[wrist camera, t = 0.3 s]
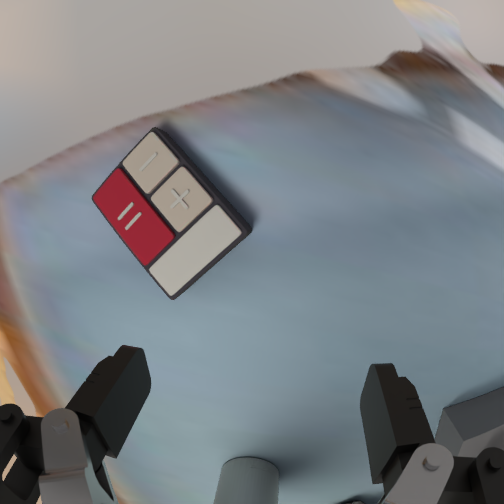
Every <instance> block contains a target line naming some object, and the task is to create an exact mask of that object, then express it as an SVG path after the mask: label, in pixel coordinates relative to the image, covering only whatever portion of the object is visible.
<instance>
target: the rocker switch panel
mask: <svg viewBox="0 0 504 504" xmlns="http://www.w3.org/2000/svg"><path fill="white" fill-rule="evenodd" d="M434 440H435V443H436V444H440V445H442V446H444V447H446V448H447V449H448V450H449V451H450V452H451V454H452V456H458V457H474V458H476V457H477V456H478V455H479V454H480V452H481V451H483V450H484V449H486V448H489V447H497V448H500V449H502V450H503V451H504V387H502V388H500V389H497V390H495V391H492V392H490V393H487V394H485V395H482V396H479V397H476V398H474V399H471V400H468V401H465V402H462V403H459V404H456V405H453V406H450V407H447V408H443V411H442V415H441V419H440V422H439V426H438V429H437V433H436V436H435V439H434Z"/></svg>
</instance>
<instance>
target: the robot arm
mask: <svg viewBox="0 0 504 504" xmlns="http://www.w3.org/2000/svg"><path fill="white" fill-rule="evenodd" d="M150 389H151V377H150V373H149V369H148V365H147V361H146V357H145V353H144V350H143V349H142V348H138V347H132V346H127V345H122V346H121V347H120V348H119V349H118V351H117V352H116V353H115V355H114V356H108V357H106V358H105V359H103V360H102V361H100V362H99V363H98V364H97V365H96V367H95V368H94V369H93V371H92V372H91V374H90V375H89V376H88V377H87V379H86V382H85V381H84V383H83V384H82V385H81V387H80V388H79V389H78V391H77V392H76V394H75V395H74V396H73V398H72V399H71V400H70V402H69V403H68V405H67V406H66V407H65V408H59V409H55V410H52V411H50V412H49V413H47V414H46V415H45V416H44V417H33V416H25V415H24V413H23V411H22V410H21V408H20V407H19V406H17V405H15V404H4V405H2V406H0V504H36V502H37V500H38V498H39V496H40V494H41V500H42V504H119V503H118V501H117V498H116V495H115V493H114V490H113V487H112V484H111V481H110V478H109V475H108V471H107V468H106V465H105V463H104V461H103V459H104V457H105V455H107V456H110V457H113V458H117V456H118V454H119V452H120V450H121V448H122V446H123V444H124V442H125V440H126V438H127V436H128V434H129V432H130V430H131V428H132V426H133V424H134V422H135V420H136V419H137V417H138V415H139V413H140V411H141V409H142V407H143V405H144V403H145V401H146V399H147V397H148V395H149V393H150ZM360 410H361V416H362V421H363V427H364V433H365V438H366V444H367V451H368V457H369V463H370V470H371V477H372V484H379V483H383V486H384V494H383V496H382V497H381V499H380V500H379V502H378V503H377V504H504V451H503V450H502V449H500V448H497V447H489V448H486V449H484V450H483V451H481V452H480V454H479V455H478V456H477V457H476V458H474V457H458V456H452V454H451V452H450V451H449V450H448V449H447V448H446V447H444V446H442V445H440V444H436V443H435V440H434V437H433V435H432V432H431V429H430V426H429V423H428V420H427V418H426V415H425V412H424V409H422V404H421V402H420V400H419V396H418V394H417V391H416V389H415V386H414V385H413V384H412V383H411V382H410V381H409V380H408V379H407V378H406V377H398V375H397V372H396V369H395V367H394V365H393V364H392V363H385V364H371V366H370V368H369V371H368V375H367V378H366V381H365V384H364V388H363V391H362V394H361V399H360ZM13 454H15V456H16V457H17V459H16V461H15V462H14V464H13V466H12V467H11V469H10V471H9V473H8V474H7V476H6V478H5V480H4V481H3V480H2V474H3V471H4V469H5V468H6V466H7V464H8V463H9V461H10V459H11V458H12V456H13ZM278 493H279V471H278V469H277V468H276V467H275V466H274V465H273V464H271V463H269V462H267V461H265V460H262V459H258V458H249V457H244V458H236V459H233V460H230V461H228V462H226V463H225V464H224V465H223V467H222V470H221V474H220V478H219V483H218V486H217V491H216V495H215V499H214V503H213V504H278Z"/></svg>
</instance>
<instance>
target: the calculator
mask: <svg viewBox="0 0 504 504" xmlns="http://www.w3.org/2000/svg"><path fill="white" fill-rule="evenodd" d="M92 201H93V202H94V204H95V205H96V206H97V208H98V209H99V210H100V212H101V213H102V214H103V216H104V217H105V219H106V220H107V221H108V223H109V224H110V225H111V227H112V228H113V229H114V231H115V232H116V233H117V234H118V236H119V237H120V238H121V240H122V241H123V242H124V244H125V245H126V246H127V247H128V249H129V250H130V251H131V252H132V254H133V255H134V256H135V257H136V259H137V260H138V261H139V262H140V264H141V265H142V266H143V267H144V269H145V270H146V271H147V272H148V273H149V275H150V276H151V277H152V278H153V279H154V281H155V282H156V283H157V284H158V285H159V287H160V288H161V289H162V290H163V291H164V293H165V294H166V295H167V296H168V297H169V298H170V299H171V300H174V299H176V298H177V297H178V296H180V295H181V294H182V293H183V292H185V291H186V290H187V289H188V288H189V287H190V286H191V285H192V284H194V283H195V282H196V281H197V280H198V279H199V278H200V277H201V276H203V275H204V274H205V273H206V272H207V271H208V270H209V269H211V268H212V267H213V266H214V265H215V264H216V263H217V262H218V261H220V260H221V259H222V258H223V257H224V256H225V255H226V254H228V253H229V252H230V251H231V250H232V249H233V248H234V247H236V246H237V245H238V244H239V243H240V242H241V241H242V240H244V239H245V238H246V237H247V236H248V235H249V234H250V233H251V232H252V228H251V226H250V225H249V224H248V223H247V222H246V221H245V220H244V218H243V217H242V216H241V215H240V214H239V213H238V212H237V211H236V209H235V208H234V207H233V206H232V205H231V204H230V203H229V202H228V201H227V200H226V199H225V198H224V197H223V195H222V194H221V193H220V192H219V191H218V190H217V189H216V188H215V186H214V185H213V184H212V183H211V182H210V181H209V180H208V178H207V177H206V176H205V175H204V174H203V173H202V172H201V171H200V169H199V168H198V167H197V166H196V165H195V164H194V163H193V162H192V160H191V159H190V158H189V157H188V156H187V155H186V154H185V153H184V152H183V150H182V149H181V148H180V147H179V146H178V145H177V144H176V143H175V142H174V141H173V139H172V138H171V137H170V136H169V135H168V134H167V133H166V132H164V131H162V130H160V129H159V128H156V127H154V128H152V129H151V130H150V131H149V132H148V133H147V134H146V135H145V136H144V137H143V138H142V139H141V140H140V141H139V143H138V144H137V145H136V146H135V147H134V148H133V149H132V150H131V151H130V152H129V153H128V154H127V156H126V157H125V158H124V159H123V160H122V161H121V162H120V163H119V165H118V166H117V167H116V168H115V169H114V170H113V171H112V173H111V174H110V175H109V176H108V177H107V178H106V180H105V181H104V182H103V183H102V184H101V186H100V187H99V188H98V189H97V191H96V192H95V193H94V194H93V196H92Z"/></svg>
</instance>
